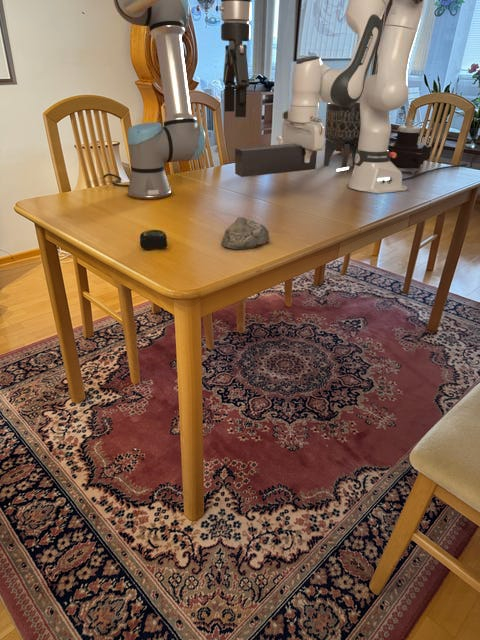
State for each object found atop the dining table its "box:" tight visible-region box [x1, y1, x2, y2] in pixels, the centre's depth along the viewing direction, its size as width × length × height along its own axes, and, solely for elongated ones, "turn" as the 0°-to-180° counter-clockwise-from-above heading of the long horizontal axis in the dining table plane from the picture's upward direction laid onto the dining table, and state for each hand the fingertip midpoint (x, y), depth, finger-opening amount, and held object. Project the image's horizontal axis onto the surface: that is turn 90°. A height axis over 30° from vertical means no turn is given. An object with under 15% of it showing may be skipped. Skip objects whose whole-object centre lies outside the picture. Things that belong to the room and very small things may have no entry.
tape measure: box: [139, 229, 168, 250], centre depth 117 cm, size 7×7×4 cm
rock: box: [221, 216, 270, 250], centre depth 119 cm, size 13×9×6 cm, turn 131°
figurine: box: [275, 134, 288, 145], centre depth 208 cm, size 8×15×13 cm, turn 145°
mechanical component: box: [388, 119, 433, 174], centre depth 204 cm, size 22×21×30 cm
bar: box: [234, 143, 318, 178], centre depth 147 cm, size 28×5×8 cm, turn 116°
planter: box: [323, 102, 361, 172], centre depth 204 cm, size 20×20×26 cm
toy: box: [335, 147, 352, 155], centre depth 240 cm, size 11×6×15 cm
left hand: (234, 114), depth 126 cm, fingers open, 13 cm apart
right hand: (300, 160), depth 151 cm, fingers closed on bar, 5 cm apart
